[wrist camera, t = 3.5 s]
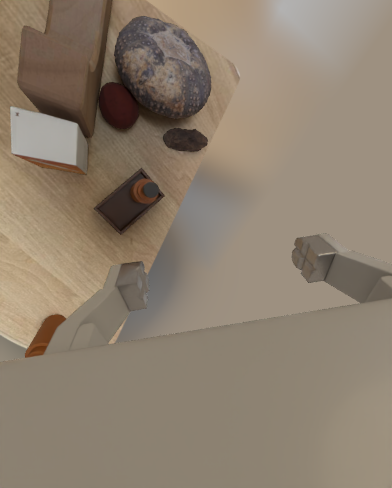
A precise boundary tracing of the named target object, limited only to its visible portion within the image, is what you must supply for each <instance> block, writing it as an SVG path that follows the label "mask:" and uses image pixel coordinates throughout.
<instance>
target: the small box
mask: <svg viewBox="0 0 392 488" xmlns="http://www.w3.org/2000/svg"><path fill="white" fill-rule="evenodd" d="M10 116H11V149H12V154H13V155H16V156H18V157H20V158H22V159H25V160H27V161H29V162H31V163H34V164H36V165H38V166H40V167H42V168H50V169H57V170H63V171H68V172H74V173H80V174H85V175H87V160H88V144H87V141H86V139H85V137H84V136H83V134H82V131H81V130H80V128H79V125H78V124H77V123H75V122H71V121H68V120H64V119H60V118H56V117H53V116H49V115H46V114H42V113H38V112H33V111H29V110H25V109H20V108H16V107H12V106H10Z"/></svg>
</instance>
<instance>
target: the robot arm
mask: <svg viewBox="0 0 392 488" xmlns="http://www.w3.org/2000/svg"><path fill="white" fill-rule="evenodd" d="M294 245H295V246H296V248H295V249H294V250H293V252H292V261H293V263H294V265H295V266H296V268H298V269H300V270H302V271H301V274H302V276H303V277H304V278H305V279H306V281H307V282H308V283H311V282H318V281H325V282H326V283H328V284H330V285H331V286H333V287H335V288H336V289H338V290H340V291H341V292H343V293H345V294H347V295H348V296H350V297H351V298H353V299H355V300H356V301H358V302H360V304H354V305H347V306H341V307H335V308H329V309H323V310H317V311H310V312H305V313H299V314H292V315H286V316H280V317H274V318H267V319H261V320H255V321H249V322H243V323H237V324H230V325H224V326H219V327H212V328H206V329H200V330H194V331H187V332H181V333H175V334H169V335H163V336H157V337H151V338H144V339H138V340H132V341H126V342H120V343H114V344H108V343H109V341H110V340H111V338H112V337H113V336H114V334H115V333H116V331H117V330H118V329H119V327H120V326H121V324H122V323H123V322H124V320H125V319H126V317H127V316H128V315H129V313H130V311H135V310H140V309H146V308H147V302H148V296H147V294H146V293H147V292H148V291H149V280H148V275H147V273H146V272H144V268H145V267H144V264H143V262H142V261H140V262H132V263H124V264H118V265H112V266H111V268H110V270H109V273H108V276H107V279H106V282H105V284H104V287H103V289H100V290H99V291H98V292H96V293H95V294H94V295H93V296H92V297H91V298H90V299H89V300H87V301H86V302H85V303H84V304H83V305H82V306H81V307H79V308H78V309H77V310H76V311H75V312H74V313H73V314H72V315H70V316H69V317H68V318H67V319H66V320H65V321H64V322H63V323H61V324H60V325H59V326H58V327H57V328H56V330H55V332H54V334H53V336H52V338H51V340H50V342H49V344H48V346H47V348H46V350H45V352H44V354H43V355H40V356H34V357H28V358H22V359H16V360H9V361H3V362H0V488H392V264H390V263H387V262H384V261H381V260H379V259H375V258H373V257H369V256H367V255H364V254H361V253H358V252H355V251H349V250H347V249H346V248H345V247H344V246H342V245H341V244H340V243H339V242H338V241H336V240H335V239H334V238H333V237H331V236H330V235H329V234H327V233H323V234H318V235H313V236H307V237H300V238H297V239H296V240H295V243H294Z"/></svg>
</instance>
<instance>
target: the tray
mask: <svg viewBox="0 0 392 488" xmlns="http://www.w3.org/2000/svg"><path fill="white" fill-rule="evenodd" d="M141 179H150V177H149V176H148V175H147V174H146V173H145V171H144V170H143V169H142V168H141V169H140V170H139V171H137V172H136V173H135V174H134V175H133V176H131V177H130V178H129V179H128V180H127V181H125V182H124V183H123V184H122V185H121V186H120V187H118V188H117V189H116V190H115V191H114V192H112V193H111V194H110V195H109V196H108V197H106V198H105V199H104V200H103V201H102V202H101V203H99V204H98V205H97V206H96V207H95V208H94V210H95V211H97V212H98V213H99V214H100V215H101V216H102V217H103V218H104V219H105V220H106V221H107V222H108V223H109V224H110V225H111V226H112V227H113V228H114V229H115V230H116V231H117V232H118V233H119V234H120V235H121V234H122V233H124V232H125V231H126V230H127V229H128V228H129V227H130V226H131V225H133V224H134V223H135V222H136V221H137V220H138V219H139V218H140V217H142V216H143V215H144V214H145V213H146V212H147V211H148V210H149V209H151V208H152V207H153V206H154V205H155V204H156V203H157V202H158V201H160V200H161V199H162V198H163V197H164V194H163V193H162V192H161V191H160V190H159V193H158V197H157V199H156V200H155V201H154V202H152V203H149V204H144V203H138V202H136V201H134V200H133V199H132V197H131V194H130V190H131V188H132V186H133V185H134V184H135V183H136V182H138V181H139V180H141ZM150 180H151V179H150Z"/></svg>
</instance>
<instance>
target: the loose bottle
mask: <svg viewBox="0 0 392 488" xmlns="http://www.w3.org/2000/svg"><path fill="white" fill-rule="evenodd" d="M65 320H66V319H65V317H63V316H61V315H51V316H49V317H48V318H46V319H45V321H44V322H43V324H42V326H41V327H40V329H39V331H38V332H37V334H36V336H35V337H34V339H33V341H32V342H31V344H30V346H29V347H28V349H27V351H26V353H25V358H28V357H34V356H40V355H43V354H44V352H45V350H46V348H47V346H48V344H49V342H50V340H51V338H52V336H53V334H54V332H55V330H56V328H57V327H58V326H59V325H60V324H61V323H63V322H64V321H65Z"/></svg>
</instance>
